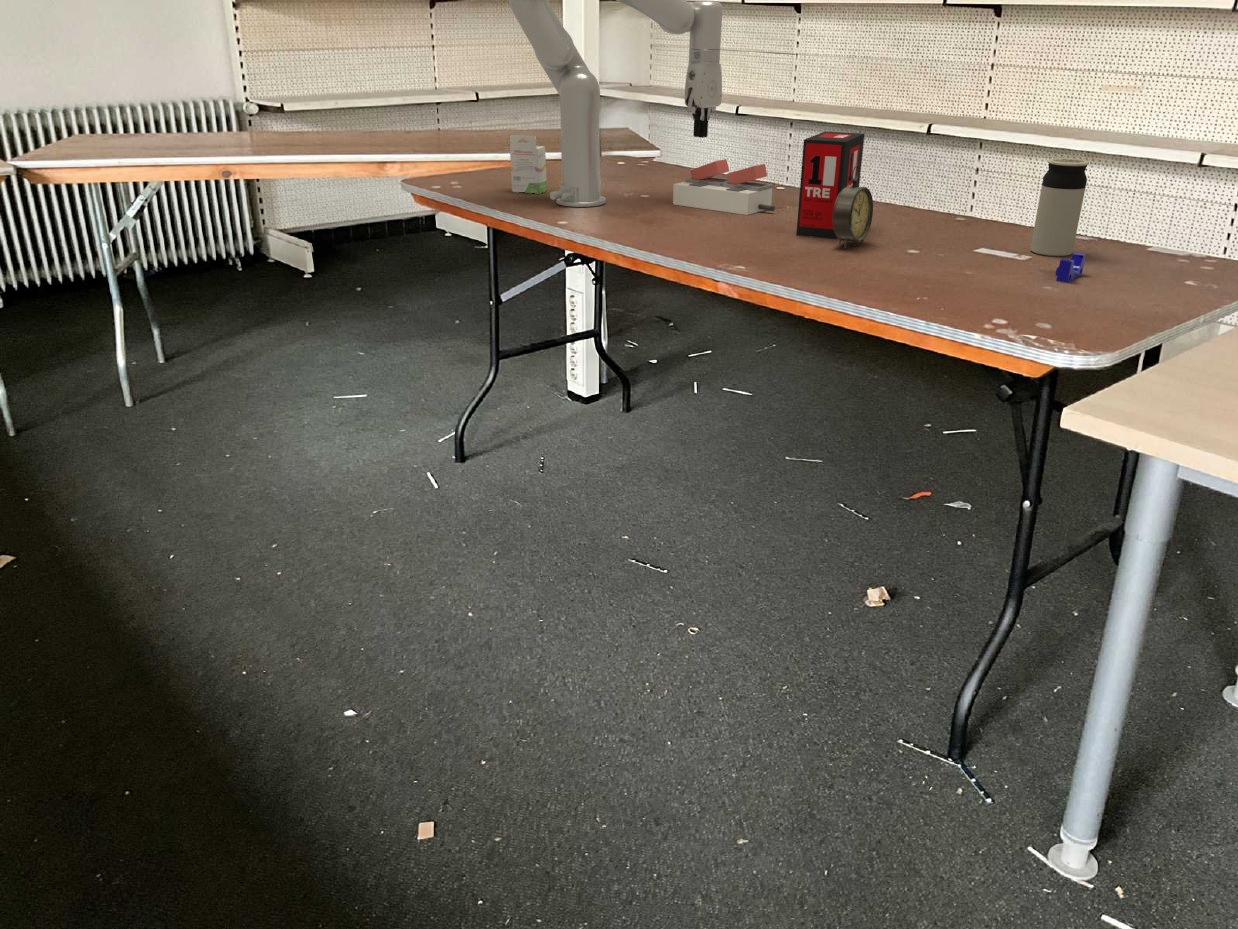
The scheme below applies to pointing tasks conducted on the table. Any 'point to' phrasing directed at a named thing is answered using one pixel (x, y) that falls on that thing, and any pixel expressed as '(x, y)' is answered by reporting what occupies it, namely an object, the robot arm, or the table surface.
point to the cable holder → (1070, 268)
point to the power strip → (724, 195)
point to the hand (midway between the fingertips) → (700, 136)
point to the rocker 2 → (747, 174)
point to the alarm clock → (853, 213)
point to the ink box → (527, 165)
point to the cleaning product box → (826, 179)
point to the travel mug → (1059, 207)
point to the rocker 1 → (710, 170)
